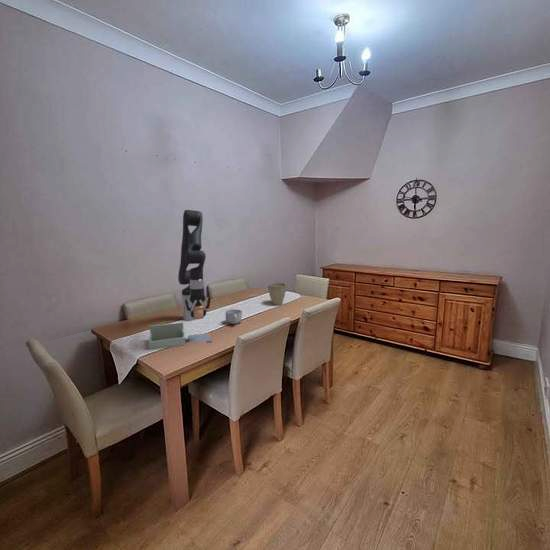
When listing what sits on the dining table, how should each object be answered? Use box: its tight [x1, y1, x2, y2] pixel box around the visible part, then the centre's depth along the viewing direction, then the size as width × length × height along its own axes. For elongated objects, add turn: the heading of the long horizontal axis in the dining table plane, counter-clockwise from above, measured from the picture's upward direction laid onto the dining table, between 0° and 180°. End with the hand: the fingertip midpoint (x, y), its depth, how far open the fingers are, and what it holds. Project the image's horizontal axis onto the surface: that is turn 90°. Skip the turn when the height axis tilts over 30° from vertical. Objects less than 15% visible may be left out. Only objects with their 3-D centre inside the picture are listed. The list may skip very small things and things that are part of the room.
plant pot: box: [267, 282, 287, 306], centre depth 241 cm, size 15×15×16 cm
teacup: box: [224, 308, 243, 325], centre depth 198 cm, size 14×11×8 cm
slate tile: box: [187, 332, 213, 344], centre depth 172 cm, size 12×12×1 cm
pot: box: [193, 305, 205, 320], centre depth 169 cm, size 6×6×7 cm
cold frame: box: [148, 322, 186, 350], centre depth 166 cm, size 14×18×9 cm
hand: (198, 316), depth 170 cm, fingers closed on pot, 5 cm apart
